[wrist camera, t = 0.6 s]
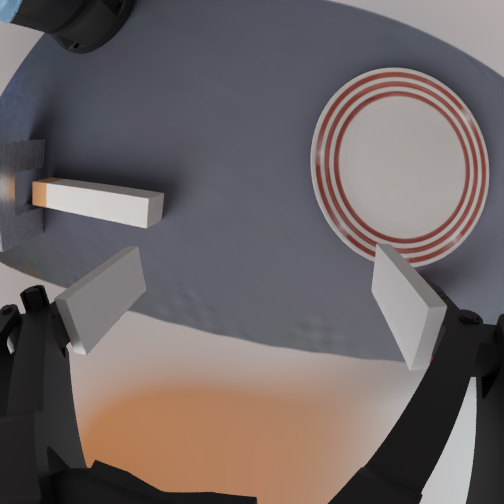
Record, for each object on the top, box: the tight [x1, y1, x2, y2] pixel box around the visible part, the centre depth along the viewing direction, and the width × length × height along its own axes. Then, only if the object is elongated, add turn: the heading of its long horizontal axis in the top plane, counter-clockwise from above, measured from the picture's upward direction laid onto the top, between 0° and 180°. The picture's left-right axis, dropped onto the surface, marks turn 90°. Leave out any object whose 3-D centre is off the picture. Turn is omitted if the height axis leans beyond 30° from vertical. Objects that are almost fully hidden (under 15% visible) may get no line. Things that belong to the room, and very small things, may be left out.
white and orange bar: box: [33, 177, 164, 228], centre depth 39 cm, size 24×4×5 cm, turn 80°
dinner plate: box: [311, 68, 489, 267], centre depth 33 cm, size 27×27×3 cm
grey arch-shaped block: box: [0, 139, 46, 252], centre depth 37 cm, size 6×18×12 cm, turn 170°
